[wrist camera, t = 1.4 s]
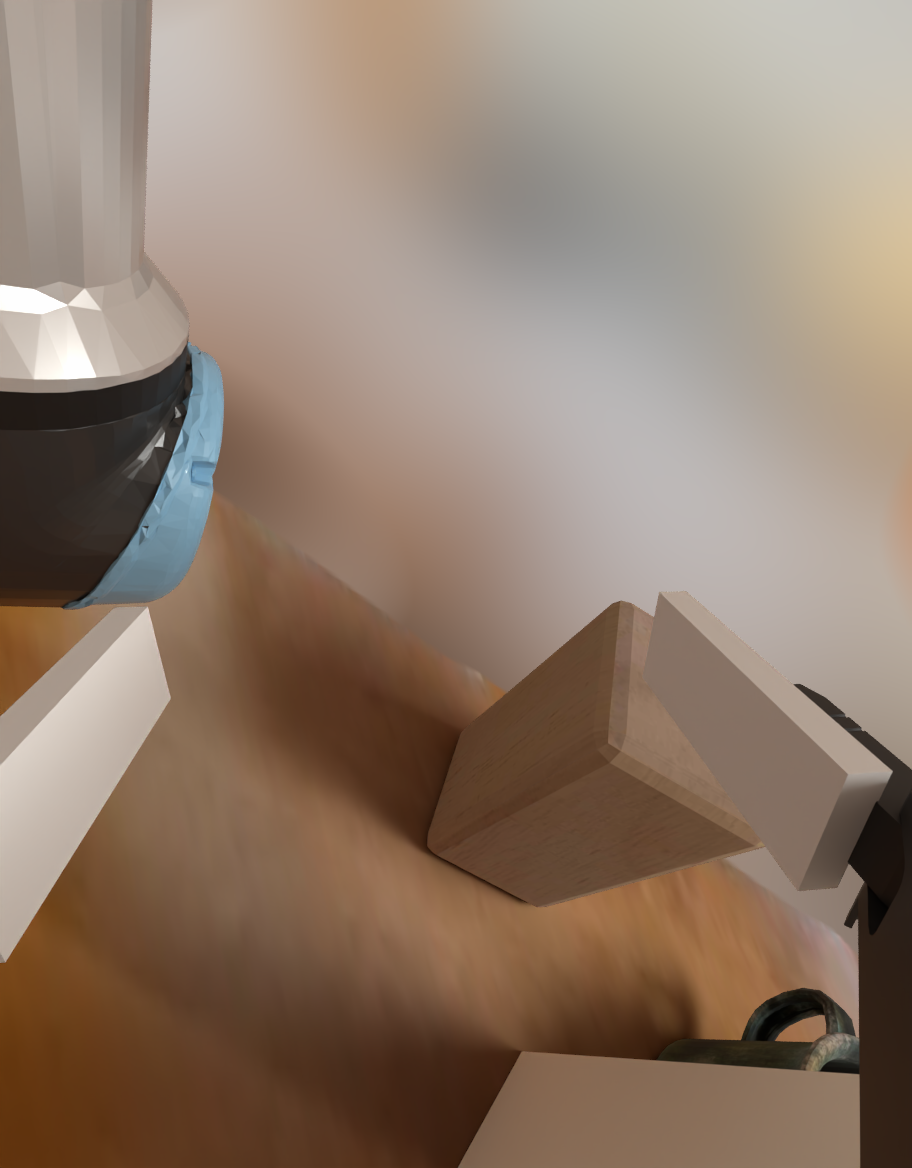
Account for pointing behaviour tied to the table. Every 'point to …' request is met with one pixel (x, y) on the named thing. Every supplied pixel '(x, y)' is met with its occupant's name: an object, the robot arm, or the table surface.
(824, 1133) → the stand
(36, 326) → the robot arm
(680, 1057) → the mug
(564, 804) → the block
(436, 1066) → the table surface
